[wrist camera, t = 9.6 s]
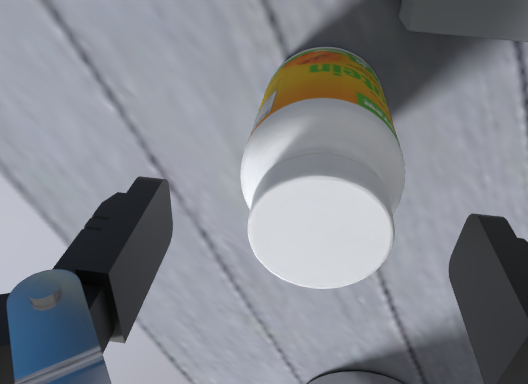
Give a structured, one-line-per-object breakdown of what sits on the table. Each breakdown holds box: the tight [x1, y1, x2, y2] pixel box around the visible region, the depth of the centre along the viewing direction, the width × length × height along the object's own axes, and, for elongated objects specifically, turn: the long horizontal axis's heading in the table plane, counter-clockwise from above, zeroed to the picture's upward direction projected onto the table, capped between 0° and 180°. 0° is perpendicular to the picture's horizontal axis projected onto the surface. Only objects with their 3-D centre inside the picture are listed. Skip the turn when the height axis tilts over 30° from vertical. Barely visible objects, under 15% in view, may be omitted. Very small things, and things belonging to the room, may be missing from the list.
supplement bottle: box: [241, 47, 405, 289], centre depth 15 cm, size 5×5×10 cm
